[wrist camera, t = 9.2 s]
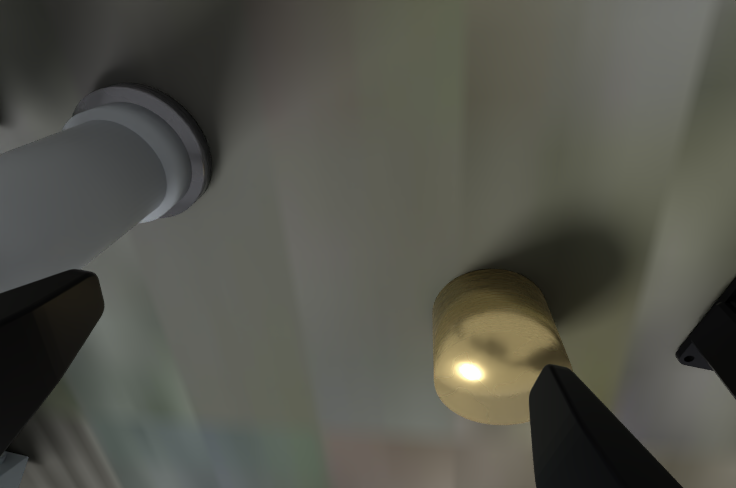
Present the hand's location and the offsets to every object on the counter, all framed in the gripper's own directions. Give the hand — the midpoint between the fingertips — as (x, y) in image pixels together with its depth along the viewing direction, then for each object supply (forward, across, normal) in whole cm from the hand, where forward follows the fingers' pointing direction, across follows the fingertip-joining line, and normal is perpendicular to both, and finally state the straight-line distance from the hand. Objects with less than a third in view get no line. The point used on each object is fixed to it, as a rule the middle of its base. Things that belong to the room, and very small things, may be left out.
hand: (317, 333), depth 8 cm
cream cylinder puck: (+13, -8, +9) cm, 18 cm away
